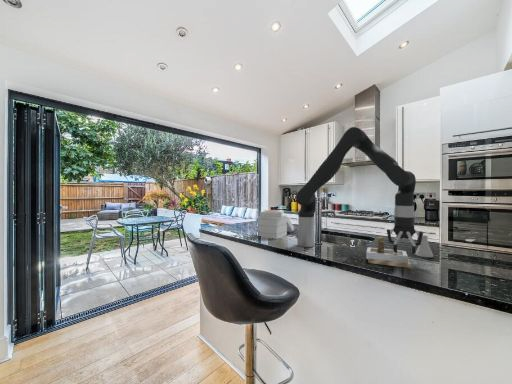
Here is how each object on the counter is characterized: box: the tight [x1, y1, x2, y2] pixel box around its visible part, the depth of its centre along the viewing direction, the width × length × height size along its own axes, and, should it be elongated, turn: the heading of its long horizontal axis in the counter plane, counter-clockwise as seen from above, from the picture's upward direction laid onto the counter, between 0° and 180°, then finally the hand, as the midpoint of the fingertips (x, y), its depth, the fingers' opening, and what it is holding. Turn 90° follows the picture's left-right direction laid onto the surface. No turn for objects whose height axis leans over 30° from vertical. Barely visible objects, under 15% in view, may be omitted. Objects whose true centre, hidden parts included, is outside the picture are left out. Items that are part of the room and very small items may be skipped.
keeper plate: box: [367, 236, 411, 269], centre depth 108 cm, size 16×12×11 cm
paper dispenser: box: [257, 209, 295, 240], centre depth 174 cm, size 19×30×18 cm, turn 146°
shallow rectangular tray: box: [365, 246, 409, 263], centre depth 109 cm, size 16×10×3 cm, turn 62°
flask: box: [414, 234, 434, 258], centre depth 117 cm, size 7×7×10 cm
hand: (404, 253), depth 105 cm, fingers open, 5 cm apart
